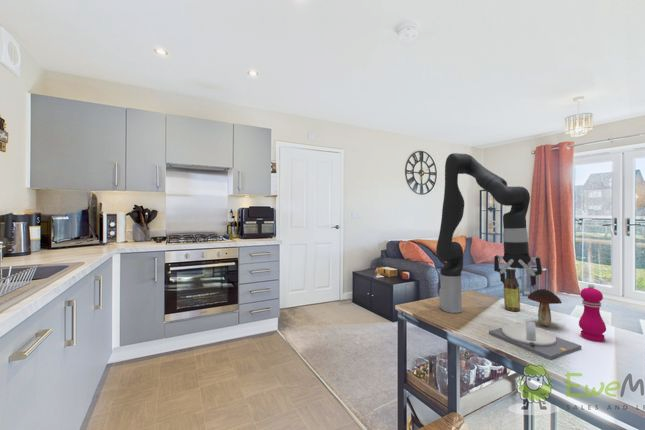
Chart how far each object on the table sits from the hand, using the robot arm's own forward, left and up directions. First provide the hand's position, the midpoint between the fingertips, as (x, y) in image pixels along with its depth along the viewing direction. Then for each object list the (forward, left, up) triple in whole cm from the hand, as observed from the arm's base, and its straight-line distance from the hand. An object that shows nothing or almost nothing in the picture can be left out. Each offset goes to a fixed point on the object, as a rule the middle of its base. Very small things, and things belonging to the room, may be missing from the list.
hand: (518, 284), depth 101 cm
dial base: (+2, +4, -21) cm, 21 cm away
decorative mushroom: (-4, +23, -21) cm, 31 cm away
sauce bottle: (-22, +30, -21) cm, 42 cm away
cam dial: (+1, +3, -19) cm, 19 cm away
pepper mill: (+10, +26, -21) cm, 34 cm away
